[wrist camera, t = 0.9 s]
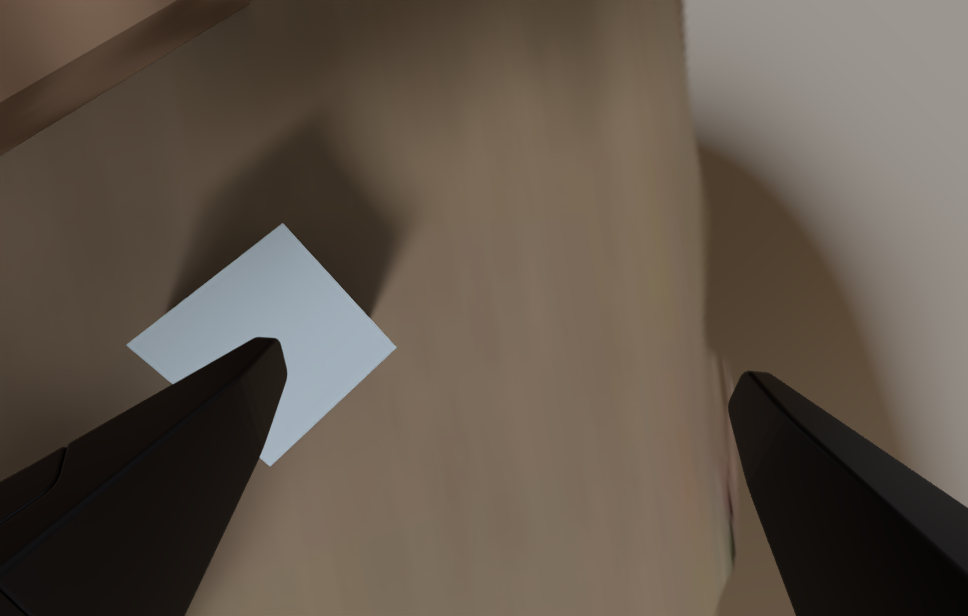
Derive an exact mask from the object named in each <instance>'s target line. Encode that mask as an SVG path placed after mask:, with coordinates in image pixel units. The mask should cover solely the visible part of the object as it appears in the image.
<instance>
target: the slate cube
mask: <svg viewBox="0 0 968 616" xmlns="http://www.w3.org/2000/svg"><path fill="white" fill-rule="evenodd" d="M255 337H271V338H276V339H278V340H279V341H280V343H281V346H282V350H283V354H284V358H285V363H286V367H287V381H286V384H285V387H284V390H283V393H282V396H281V399H280V402H279V405H278V408H277V411H276V414H275V416H274V419H273V422H272V425H271V428H270V431H269V434H268V437H267V440H266V443H265V445H264V448H263V451H262V453H261V455H260V457H259V458H260V459H262V460H263V461H264V462H265V463H266V464H268V465H269V466H271V465H272V464H273V463H274V462H275V461H277V460H278V459H279V458H280V457H281V456H282V455H283V454H284V453H285V452H286V451H287V450H288V449H289V448H290V447H291V446H292V445H294V444H295V443H296V442H297V441H298V440H299V439H300V438H301V437H302V436H303V435H304V434H305V433H306V432H307V431H308V430H309V429H311V428H312V427H313V426H314V425H315V424H316V423H317V422H318V421H319V420H320V419H321V418H322V417H323V416H324V415H325V414H326V413H328V412H329V411H330V410H331V409H332V408H333V407H334V406H335V405H336V404H337V403H338V402H339V401H340V400H341V399H342V398H343V397H345V396H346V395H347V394H348V393H349V392H350V391H351V390H352V389H353V388H354V387H355V386H356V385H357V384H358V383H359V382H361V381H362V380H363V379H364V378H365V377H366V376H367V375H368V374H369V373H370V372H371V371H372V370H373V369H374V368H375V367H376V366H378V365H379V364H380V363H381V362H382V361H383V360H384V359H385V358H386V357H387V356H388V355H389V354H390V353H391V352H392V351H393V350H395V349H396V348H397V347H396V346H395V345H394V344H393V343H392V342H391V341H390V340H389V339H388V338H387V336H386V335H385V334H384V333H383V332H382V331H381V330H380V329H379V328H378V327H377V326H376V324H375V323H374V322H373V321H372V320H371V319H370V318H369V317H368V316H367V315H366V314H365V312H364V311H363V310H362V309H361V308H360V307H359V306H358V305H357V304H356V303H355V302H354V300H353V299H352V298H351V297H350V296H349V295H348V294H347V293H346V292H345V291H344V289H343V288H342V287H341V286H340V285H339V284H338V283H337V282H336V281H335V280H334V279H333V277H332V276H331V275H330V274H329V273H328V272H327V271H326V270H325V269H324V268H323V267H322V265H321V264H320V263H319V262H318V261H317V260H316V259H315V258H314V257H313V256H312V255H311V253H310V252H309V251H308V250H307V249H306V248H305V247H304V246H303V245H302V244H301V243H300V241H299V240H298V239H297V238H296V237H295V236H294V235H293V234H292V233H291V232H290V231H289V229H288V228H287V227H286V226H285V225H284V224H283V223H282V224H281V225H280V226H278V227H277V228H276V229H274V230H273V231H272V232H271V233H269V234H268V235H267V236H265V237H264V238H263V239H262V240H260V241H259V242H258V243H256V244H255V245H254V246H253V247H251V248H250V249H249V250H247V251H246V252H245V253H244V254H242V255H241V256H240V257H238V258H237V259H236V260H235V261H233V262H232V263H231V264H229V265H228V266H227V267H226V268H224V269H223V270H222V271H220V272H219V273H218V274H217V275H215V276H214V277H213V278H212V279H210V280H209V281H208V282H206V283H205V284H204V285H203V286H201V287H200V288H199V289H197V290H196V291H195V292H194V293H192V294H191V295H190V296H188V297H187V298H186V299H185V300H183V301H182V302H181V303H179V304H178V305H177V306H176V307H174V308H173V309H172V310H170V311H169V312H168V313H167V314H165V315H164V316H163V317H161V318H160V319H159V320H158V321H156V322H155V323H154V324H152V325H151V326H150V327H149V328H147V329H146V330H145V331H143V332H142V333H141V334H140V335H138V336H137V337H136V338H134V339H133V340H132V341H131V342H129V343H128V344H127V346H128V347H129V348H130V349H131V350H133V351H134V352H135V353H136V354H137V355H138V356H140V357H141V358H142V359H143V360H144V361H146V362H147V363H148V364H149V365H150V366H152V367H153V368H154V369H155V370H156V371H157V372H159V373H160V374H161V375H162V376H163V377H165V378H166V379H167V380H168V381H169V382H170V383H172V384H174V383H176V382H178V381H179V380H181V379H183V378H185V377H186V376H188V375H190V374H192V373H193V372H195V371H197V370H199V369H200V368H202V367H204V366H206V365H207V364H209V363H211V362H213V361H214V360H216V359H218V358H220V357H221V356H223V355H225V354H227V353H228V352H230V351H232V350H234V349H235V348H237V347H239V346H241V345H242V344H244V343H246V342H248V341H249V340H251V339H253V338H255Z"/></svg>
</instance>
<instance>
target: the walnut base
mask: <svg viewBox="0 0 968 616" xmlns="http://www.w3.org/2000/svg"><path fill="white" fill-rule="evenodd" d="M248 4H249V0H0V155H2V154H4V153H5V152H7V151H9V150H10V149H12V148H14V147H15V146H17V145H18V144H20V143H22V142H23V141H25V140H27V139H28V138H30V137H32V136H33V135H35V134H36V133H38V132H40V131H41V130H43V129H45V128H46V127H48V126H50V125H51V124H53V123H55V122H56V121H58V120H59V119H61V118H63V117H64V116H66V115H68V114H69V113H71V112H73V111H74V110H76V109H77V108H79V107H81V106H82V105H84V104H86V103H87V102H89V101H91V100H92V99H94V98H96V97H97V96H99V95H100V94H102V93H104V92H105V91H107V90H109V89H110V88H112V87H114V86H115V85H117V84H118V83H120V82H122V81H123V80H125V79H127V78H128V77H130V76H132V75H133V74H135V73H137V72H138V71H140V70H141V69H143V68H145V67H146V66H148V65H150V64H151V63H153V62H155V61H156V60H158V59H159V58H161V57H163V56H164V55H166V54H168V53H169V52H171V51H173V50H174V49H176V48H178V47H179V46H181V45H182V44H184V43H186V42H187V41H189V40H191V39H192V38H194V37H196V36H197V35H199V34H200V33H202V32H204V31H205V30H207V29H209V28H210V27H212V26H214V25H215V24H217V23H219V22H220V21H222V20H223V19H225V18H227V17H228V16H230V15H232V14H233V13H235V12H237V11H238V10H240V9H241V8H243V7H245V6H246V5H248Z"/></svg>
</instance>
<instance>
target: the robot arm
mask: <svg viewBox="0 0 968 616" xmlns="http://www.w3.org/2000/svg"><path fill="white" fill-rule="evenodd" d="M286 381H287V367H286V363H285V358H284V354H283V350H282V346H281V343H280V341H279V340H278V339H276V338H271V337H255V338H253V339H251V340H249V341H248V342H246V343H244V344H242V345H241V346H239V347H237V348H235V349H234V350H232V351H230V352H228V353H227V354H225V355H223V356H221V357H220V358H218V359H216V360H214V361H213V362H211V363H209V364H207V365H206V366H204V367H202V368H200V369H199V370H197V371H195V372H193V373H192V374H190V375H188V376H186V377H185V378H183V379H181V380H179V381H178V382H176V383H174V384H172V385H171V386H169V387H167V388H165V389H164V390H162V391H160V392H158V393H156V394H155V395H153V396H151V397H149V398H148V399H146V400H144V401H142V402H141V403H139V404H137V405H135V406H134V407H132V408H130V409H128V410H127V411H125V412H123V413H121V414H120V415H118V416H116V417H114V418H113V419H111V420H109V421H107V422H106V423H104V424H102V425H100V426H99V427H97V428H95V429H93V430H92V431H90V432H88V433H86V434H85V435H83V436H81V437H79V438H78V439H76V440H74V441H72V442H70V443H69V444H68V446H67V447H61V448H60V449H58V450H56V451H55V452H53V453H51V454H49V455H48V456H46V457H44V458H42V459H41V460H39V461H37V462H35V463H33V464H32V465H30V466H28V467H26V468H24V469H23V470H21V471H19V472H17V473H15V474H13V475H12V476H10V477H8V478H6V479H4V480H3V481H1V482H0V616H185V614H186V612H187V610H188V608H189V605H190V603H191V601H192V599H193V597H194V595H195V593H196V591H197V589H198V586H199V584H200V582H201V580H202V578H203V576H204V574H205V572H206V570H207V567H208V565H209V563H210V561H211V559H212V557H213V555H214V553H215V551H216V548H217V546H218V544H219V542H220V540H221V538H222V536H223V534H224V532H225V529H226V527H227V525H228V523H229V521H230V519H231V517H232V515H233V513H234V510H235V508H236V506H237V504H238V502H239V500H240V498H241V496H242V493H243V491H244V489H245V487H246V485H247V483H248V481H249V479H250V477H251V474H252V472H253V470H254V468H255V466H256V464H257V462H258V460H259V457H260V455H261V453H262V451H263V448H264V445H265V443H266V440H267V437H268V434H269V431H270V428H271V425H272V422H273V419H274V416H275V414H276V411H277V408H278V405H279V402H280V399H281V396H282V393H283V390H284V387H285V384H286ZM728 412H729V417H730V421H731V425H732V429H733V433H734V436H735V440H736V444H737V448H738V452H739V456H740V460H741V464H742V468H743V472H744V475H745V479H746V483H747V485H748V488H749V491H750V494H751V497H752V500H753V503H754V505H755V508H756V511H757V513H758V516H759V518H760V521H761V524H762V526H763V529H764V532H765V534H766V537H767V540H768V542H769V545H770V548H771V550H772V553H773V556H774V558H775V561H776V564H777V566H778V569H779V572H780V574H781V577H782V580H783V582H784V585H785V588H786V590H787V593H788V596H789V598H790V601H791V603H792V606H793V609H794V612H795V614H796V616H968V508H967V507H966V506H964V505H963V504H961V503H960V502H958V501H957V500H955V499H954V498H952V497H951V496H950V495H948V494H947V493H945V492H944V491H942V490H941V489H939V488H938V487H936V486H935V485H933V484H932V483H930V482H929V481H927V480H926V479H924V478H923V477H922V476H920V475H919V474H917V473H916V472H914V471H913V470H911V469H910V468H908V467H907V466H905V465H904V464H903V463H901V462H899V461H898V460H897V459H895V458H894V457H892V456H891V455H889V454H888V453H886V452H885V451H883V450H882V449H880V448H879V447H878V446H876V445H875V444H873V443H872V442H870V441H869V440H867V439H866V438H864V437H863V436H861V435H860V434H858V433H857V432H856V431H854V430H852V429H851V428H850V427H848V426H847V425H845V424H844V423H842V422H841V421H839V420H838V419H836V418H835V417H833V416H832V415H831V414H829V413H827V412H826V411H825V410H823V409H822V408H820V407H819V406H817V405H816V404H814V403H813V402H811V401H810V400H808V399H807V398H806V397H804V396H803V395H801V394H800V393H798V392H797V391H795V390H794V389H792V388H791V387H789V386H788V385H786V384H785V383H783V382H782V381H781V380H779V379H778V378H776V377H775V376H773V375H772V374H770V373H768V372H762V371H746V372H744V373H743V374H742V375H741V377H740V379H739V381H738V383H737V385H736V387H735V389H734V391H733V394H732V396H731V398H730V400H729V404H728Z"/></svg>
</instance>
